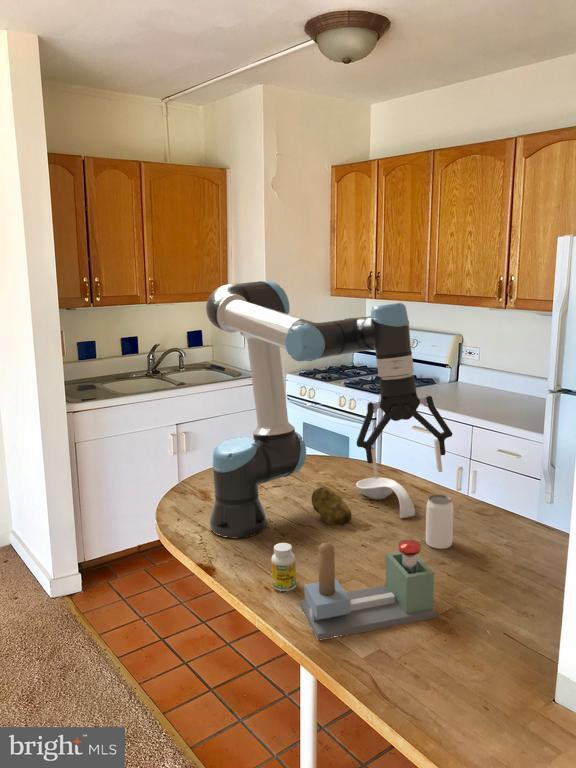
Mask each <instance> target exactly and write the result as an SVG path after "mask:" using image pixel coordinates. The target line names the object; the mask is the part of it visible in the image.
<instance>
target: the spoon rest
mask: <svg viewBox="0 0 576 768" xmlns="http://www.w3.org/2000/svg"><path fill="white" fill-rule="evenodd" d="M355 485H356V488H357V490H358V491H359V492H360V493H361V494H363V495H364V496H365V497H367V498H368V499H370V500H383V499H386V498H387V497H389V496H390V495H391V494H393V493H394V494H395V495H396V497H397V499H398V502H399V518H400V519H406V518H411V517H414V516H416V510H415V506H414V504H413V501H412V498H411V497H410V495H409V494H408V492H407V491H406V489H405V488H404V486H403V485H402V484H400V483H398V482H397V481H395V480H394V479H391V478H387V477H379V476H378V479H375V477H369V478H364V479H360V480H359V481H357V482H356V483H355Z"/></svg>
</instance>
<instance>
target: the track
mask: <svg viewBox="0 0 576 768" xmlns="http://www.w3.org/2000/svg"><path fill="white" fill-rule="evenodd" d="M434 584H435V572H434V571H433V570H432V569H431V568H430V567H429V566H428V565H427V564H426V563H425V562H424V561H423V560H422V559H421V557H419V556H418V555H417V571H416V573H413V574H408V573H407V571H406V570H405V569H404V568H403V567H402V553H401V552H400V551H396V552H389V553H385V585H380V586H374V587H369V588H363V589H357V590H356V589H355V590H352V591H345V592H346V594H347V595H348V596H349V598H350V607H351V613H348V614H347V615H342V616H337V617H332V618H327V619H321V620H316V621H314V620H313V617H312V610H311V608H310V607H309V611H310V612H309V611H308V603H307V601H306V599H301V600H299V607H301V608H300V609H302V610H301V612H302V611H303V612H304V614H305V616H306V617H305V616H304V617H305V619H306V618H307V619H306V621H307V620H308V621H307V623H308V622H309V623H308V625H309V624H310V625H309V627H310V626H311V627H312V629H313V631H312V633H313V632H314V633H313V635H314V634H315V635H316V637H317V639H318V640H320V639H324V638H325V640H327V639H326V638H330V639H332V638H331V637H334V636H340V635H345V636H347V635H346V634H350V635H355V634H360V633H365V632H369V631H374V630H375V631H376V630H379V629H386V628H389V627H394V626H400V625H404V624H405V625H406V624H410V623H411V624H412V623H414V622H419V621H420V622H421V621H426V620H430V619H435V618H436V610H435V608H434V589H435V588H434V587H435V585H434ZM303 612H302V613H303ZM304 614H303V615H304ZM311 627H310V628H311ZM312 629H311V630H312ZM354 633H355V634H354ZM315 635H314V636H315ZM316 637H315V638H316ZM340 637H341V636H340ZM317 639H316V640H317ZM318 640H317V641H318ZM320 641H321V640H320Z"/></svg>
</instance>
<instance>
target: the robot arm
mask: <svg viewBox="0 0 576 768" xmlns="http://www.w3.org/2000/svg"><path fill="white" fill-rule="evenodd" d="M205 309H206V311H205V312H206V316H207V317H208V319H209V321H210V322H211V325H213V326H214V327H216V328H218V329H220V330H222V331H224V332H227V333H236V332H238V333H240V335H241V336H242V337H243V338H244V339H245V340H246V343H247V349H248V351H247V352H248V359H249V367H250V374H251V382H252V393H253V399H254V407H255V415H256V424H257V425H256V428H255V429H254V430H253V432H252V435H253V438H250V437H247V436H246V437H239V438H236V437H234V438H230V439H226V440H225V441H222V442H221V443H219V444H218V445H216V447H215V448H214V450H213V452H212V462H211V463H212V465H211V466H212V470H213V481H214V482H213V485H214V497H215V498H214V504H213V507H212V511H211V514H210V519H209V528H211V529H212V531H214V532H215V533H217V534H220V535H222V536H227V537H244V538H247V537H246V536H249V537H252V536H251V535H253V536H255V535H257V533H258V534H259V532H260V533H261V532H263V531H264V530H265V529H266V527H267V517H266V513H265V510H264V508H263V506H262V502H261V500H260V498H259V486H260V485H263V484H265V483H269V482H271V481H275V480H277V479H282V478H287V477H289V476H291V475H293V474H296V473H298V472H299V471H300V470H301V469H302V468H303V466H304V465H305V462H306V458H307V447H306V443H305V441H304V440H303V436H302V435H300V433H298V432H296V429H295V426H294V425H292V424H291V423H290V422H289V416H288V408H287V399H286V391H285V383H284V381H285V380H284V375H283V374H284V373H283V372H284V371H283V364H282V359H281V358H282V356H281V348H282V349H284V350H286V351H287V352H286V353H287V354H288V355H289V356H290V357H291V359H292V360H294V361H296V362H312V361H316V360H321V359H325V358H331V357H336V356H341V355H347V354H352V353H358V352H370V351H375V358H376V365H377V373H378V377H379V378H381V379H379V382H378V383H379V390H380V391H379V392H380V402H372V401H368V402H367V405H366V407H367V409H366V411H367V412H366V415H365V417H364V420H363V423H362V425H361V429H360V431H359V434H358V437H357V439H356V446H357V447H358V448H363V449H364V450H365V454H366V462H367V464H372V467H373V468H372V469H373V474H374V477H373V478H375V479H378V477H379V473H378V463H377V457H376V456H377V455H376V448H375V446H373V445H374V444H375V443H376V441H377V439H378V438H379V437H380V435H381V433H382V431H384V429H385V428H386V427H387V425H388V424H389V422H390V421H394V422H398V421H402V420H404V421H406V420H410V419H411V418H412V417H413V418H414V419H415V420H417V421H418V422H419V423H420V425H422V426H423V427H424V428H426V430H427V431H428V432H430V433H431V434H432V435H433V436H434V437H435V438H436V439H433V444H434V445H433V447H434V453H435V462H436V463H435V464H436V469H437V472H438V473H442V472H443V466H442V464H443V463H442V456H446V445H445V440H446V439H448V438H452V437H453V432H452V431H451V429H450V428H449V426H448V425H447V423H446V422H445V420H444V418H443V416H442V415H441V414H440V413H439V411H438V410H437V408H436V406H435V404H434V400H433V397H432V396H431V395H430V394H426V395H425V396H422V397H419V396H418V394H417V386H416V378H415V376H414V375H412V374H414V372H415V370H414V361H413V353H412V345H411V332H410V321H409V317H408V312H407V307H406V305H405V304H404V303H403V302H402V303H401V302H397V303H396V302H395V303H389V304H381V305H374V306H372V307H371V308H370V316H369V315H368V316H361V317H348V318H343V319H337V320H332V321H331V320H330V321H324V322H314V321H311V320H307V319H305V318H302V317H298V316H295V315H292V314H290V300H289V297H288V295H287V294H286V291H285V290H284V288H282V287H281V286H280V284H278V283H277V282H274V281H265V280H262V281H261V280H259V281H253V282H241V283H228V284H223V285H222V286H221V285H220V286H219V287H217V288H216V289H215V290H214V291H212V292H211V294H210V295H209V297H208V299H207V302H206V307H205ZM420 404H422V405H423V407H427V408H428V410H429V411H430V413H431V415H432V416H433V417H434V419H435V421H436V422H437V423H438V425H439V426H440V429H442V431H443V432H440V431H439V430H438V429H436V427H435V426H434V425H432V424H431V423H430V422H429V421H428V420H427V419H426V418H424V417H423V416H422V414H421V413H419V412H418V411H417V410H418V408H419V406H420ZM378 409H380V410H381V411H382V412H383V413H384V414H383V415H382V417H381V419H380V421H379V422H378V423H377V425H376V427H375V428H374V430H373V431H372V432H371V434H370V436H369V437H368V438H367V440H365V439H366V436H367V435H368V434H367V433H368V431H369V428H370V425H371V422H372V420H373V416H374V414H375V413H377V412H378ZM211 529H210V530H211ZM263 529H264V530H263ZM212 531H211V532H212ZM254 534H255V535H254Z"/></svg>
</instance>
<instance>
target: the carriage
mask: <svg viewBox="0 0 576 768" xmlns="http://www.w3.org/2000/svg"><path fill="white" fill-rule="evenodd" d="M317 556H318V558H317V559H318V561H317V562H318V564H317V565H318V581H317V582H312V583H305V584H304V585H303V586H304V600H306V601H307V603H308V611H309V607H310V608H311V610H312V617H313V620H314V621H316V620H321V619H327V618H332V617H337V616H342V615H347V614H348V613H351V607H350V598H349V596H348V595H347V594H346V592H347V591H346V590H345V589H344V587H343V586H342V585H341V583H340V582H339V579H337V578H336V575H335V574H336V573H335V572H336V571H335V569H336V567H335V564H336V563H335V562H336V561H335V557H336V556H335V547H334V546H333V544H332V543H330V542H322V543H321V544H320V545H319V546H318V551H317ZM309 612H310V611H309Z"/></svg>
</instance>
